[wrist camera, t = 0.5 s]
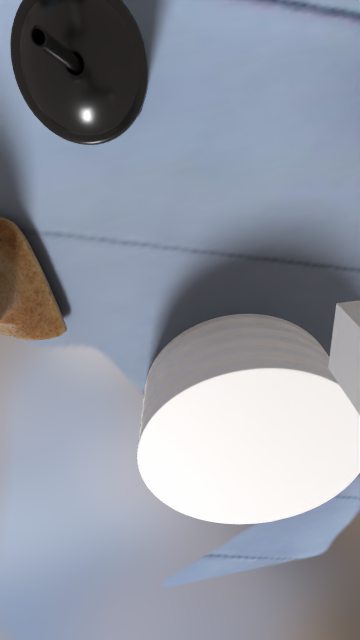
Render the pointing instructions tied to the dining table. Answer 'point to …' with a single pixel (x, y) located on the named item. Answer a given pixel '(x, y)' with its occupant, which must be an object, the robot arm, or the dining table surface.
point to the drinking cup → (80, 66)
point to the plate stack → (246, 422)
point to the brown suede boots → (25, 290)
